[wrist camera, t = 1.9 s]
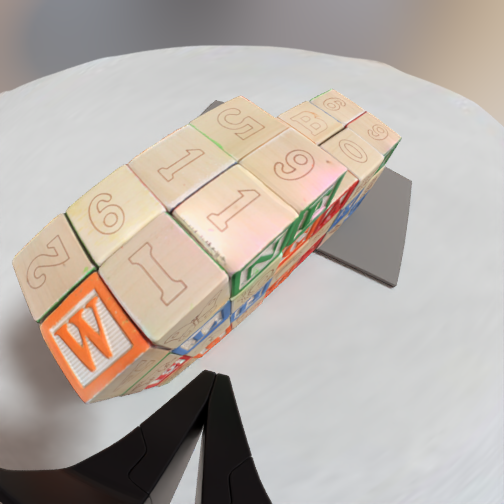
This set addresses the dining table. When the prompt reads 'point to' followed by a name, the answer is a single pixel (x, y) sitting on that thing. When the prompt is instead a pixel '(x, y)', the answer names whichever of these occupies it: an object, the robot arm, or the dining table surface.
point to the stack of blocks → (194, 237)
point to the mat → (372, 228)
